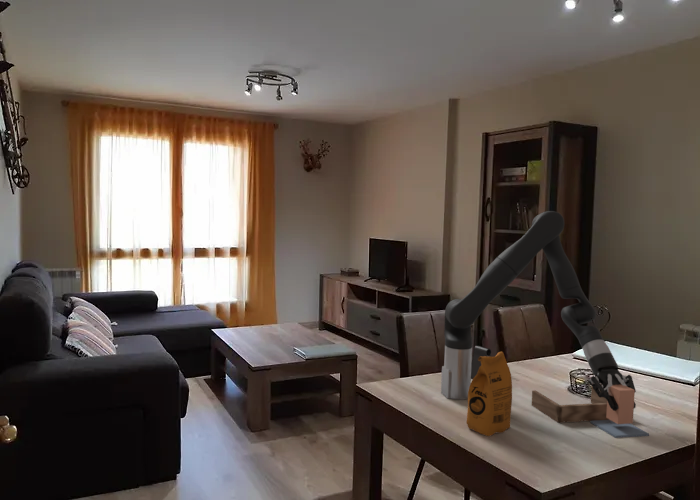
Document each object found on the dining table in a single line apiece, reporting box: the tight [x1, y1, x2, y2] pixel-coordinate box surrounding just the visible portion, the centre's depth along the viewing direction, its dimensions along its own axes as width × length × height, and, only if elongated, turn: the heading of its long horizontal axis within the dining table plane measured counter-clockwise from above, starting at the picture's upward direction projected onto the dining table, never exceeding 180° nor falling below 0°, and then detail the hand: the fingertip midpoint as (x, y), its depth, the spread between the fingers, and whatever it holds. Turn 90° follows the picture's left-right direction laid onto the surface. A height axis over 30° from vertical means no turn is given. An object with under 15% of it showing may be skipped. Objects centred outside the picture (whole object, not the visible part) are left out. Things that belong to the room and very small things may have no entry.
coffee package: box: [465, 351, 513, 437], centre depth 152 cm, size 10×12×22 cm
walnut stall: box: [531, 387, 609, 424], centre depth 167 cm, size 23×15×5 cm, turn 101°
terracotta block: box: [606, 385, 636, 424], centre depth 154 cm, size 5×5×10 cm
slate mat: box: [589, 420, 650, 439], centre depth 154 cm, size 11×11×1 cm
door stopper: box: [471, 345, 492, 380], centre depth 201 cm, size 9×6×12 cm, turn 124°
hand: (624, 408), depth 152 cm, fingers closed on terracotta block, 5 cm apart
